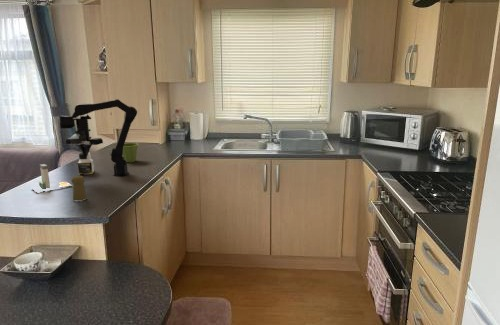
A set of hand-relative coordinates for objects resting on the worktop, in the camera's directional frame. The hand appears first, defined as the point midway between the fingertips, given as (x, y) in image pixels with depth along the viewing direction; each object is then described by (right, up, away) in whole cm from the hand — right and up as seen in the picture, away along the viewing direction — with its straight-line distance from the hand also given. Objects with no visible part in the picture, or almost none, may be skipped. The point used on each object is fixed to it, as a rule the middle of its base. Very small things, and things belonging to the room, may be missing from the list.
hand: (85, 156), depth 197 cm
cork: (+12, -20, -32) cm, 40 cm away
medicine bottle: (-6, -9, +14) cm, 18 cm away
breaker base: (-10, -16, -14) cm, 24 cm away
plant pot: (+10, -3, +42) cm, 43 cm away
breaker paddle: (-12, -15, -16) cm, 25 cm away
